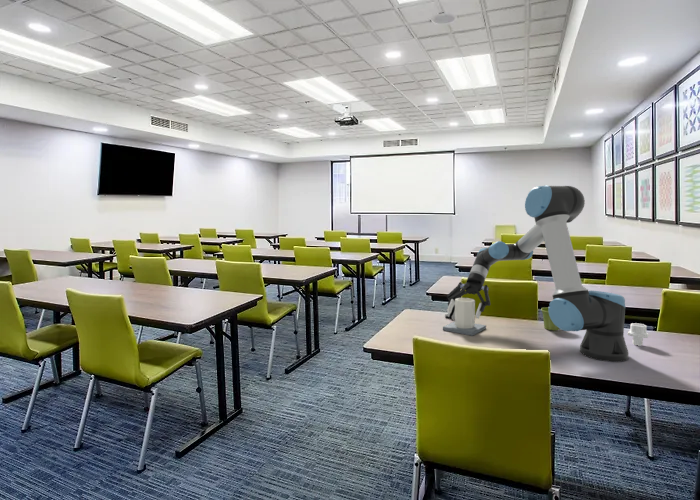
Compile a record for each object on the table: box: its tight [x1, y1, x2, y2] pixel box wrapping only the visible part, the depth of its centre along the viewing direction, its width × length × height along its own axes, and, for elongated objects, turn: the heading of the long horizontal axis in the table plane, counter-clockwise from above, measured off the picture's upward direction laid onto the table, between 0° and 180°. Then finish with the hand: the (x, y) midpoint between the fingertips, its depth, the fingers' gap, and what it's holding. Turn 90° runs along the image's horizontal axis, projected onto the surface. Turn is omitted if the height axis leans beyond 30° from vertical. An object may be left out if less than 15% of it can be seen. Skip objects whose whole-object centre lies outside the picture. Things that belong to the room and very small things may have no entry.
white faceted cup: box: [454, 297, 476, 329], centre depth 185 cm, size 8×8×12 cm
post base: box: [442, 321, 487, 337], centre depth 186 cm, size 14×14×10 cm
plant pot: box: [540, 306, 560, 332], centre depth 185 cm, size 9×9×9 cm
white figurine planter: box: [627, 322, 649, 347], centre depth 162 cm, size 6×7×8 cm
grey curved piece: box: [444, 303, 455, 320], centre depth 210 cm, size 17×5×10 cm, turn 140°
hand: (462, 314), depth 184 cm, fingers open, 13 cm apart
